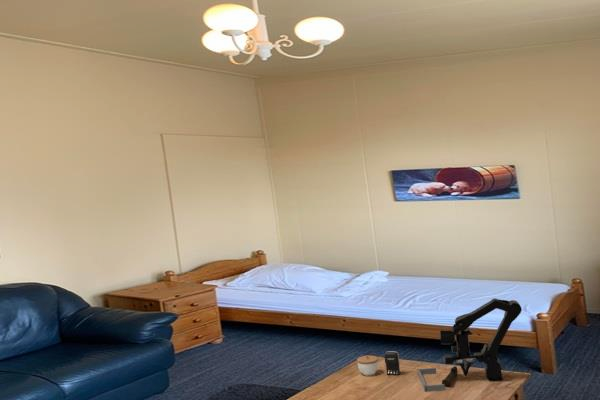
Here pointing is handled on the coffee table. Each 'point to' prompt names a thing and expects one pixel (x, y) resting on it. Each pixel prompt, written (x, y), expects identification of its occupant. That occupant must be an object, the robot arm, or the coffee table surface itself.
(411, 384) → the coffee table surface
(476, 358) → the robot arm
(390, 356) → the battery charger
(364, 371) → the lidded jar
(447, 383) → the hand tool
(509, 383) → the coffee table surface
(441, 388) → the plate
